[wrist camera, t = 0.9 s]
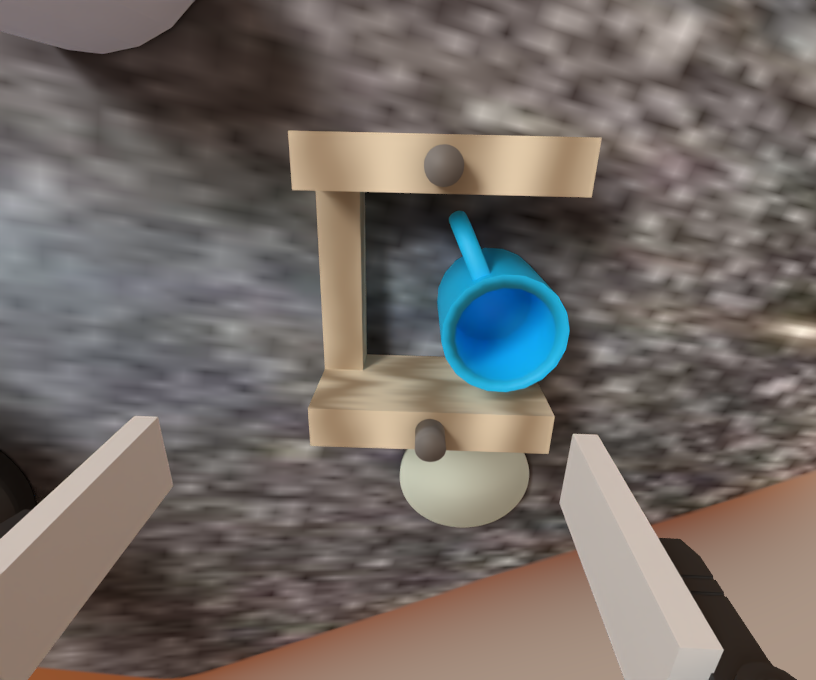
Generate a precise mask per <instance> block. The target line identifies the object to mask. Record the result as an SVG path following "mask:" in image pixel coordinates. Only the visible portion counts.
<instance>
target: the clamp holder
mask: <svg viewBox="0 0 816 680" xmlns="http://www.w3.org/2000/svg"><path fill="white" fill-rule="evenodd" d="M288 139H289V153H290V167H291V181H292V190H312V191H316V207H317V226H318V245H319V264H320V283H321V301H322V320H323V339H324V358H325V370H324V373H323V375H322V377H321V379H320V382H319V384H318V386H317V389H316V391H315V393H314V396H313V398H312V400H311V402H310V405H309V407H308V417H309V431H310V445H311V446H333V447H362V448H392V449H415V453H416V455H417V456H418V457H419V458H420V459H421V460H423V461H426V462H435V461H438V460H440V459H441V458H442V457H443V456H444V455H445V452H446V450H450V451H480V452H509V453H538V454H549V448H550V442H551V436H552V430H553V424H554V418H555V416H554V414H553V412H552V410H551V408H550V406H549V404H548V402H547V400H546V398H545V396H544V394H543V392H542V390H541V388H540V386H539V384H538V382H536V383H534V384H532V385H530V386H528V387H526V388H524V389H519V390H514V391H510V392H495V391H486V390H483V389H480V388H478V387H475V386H472V385H470V384H468V383H467V382H466V381H464V380H463V379H462V378H461V377H459V376H458V375H457V374H456V373H455V372H454V370H453V369H452V367H451V366H450V365H449V363H448V362H447V360H446V358H445V357H436V356H403V355H371V354H367V316H366V245H365V192H392V193H432V194H472V195H512V196H552V197H592V192H593V186H594V180H595V174H596V168H597V162H598V156H599V150H600V144H601V138H589V137H545V136H502V135H458V134H414V133H370V132H327V131H288Z"/></svg>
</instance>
